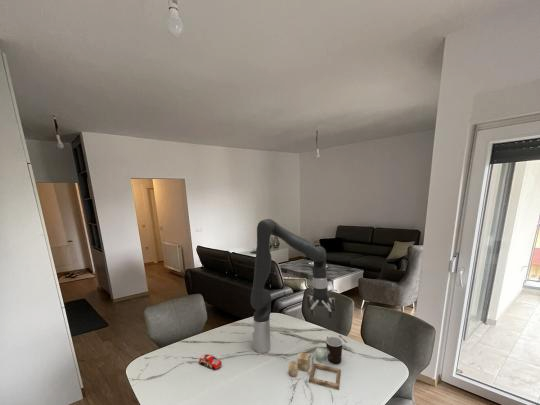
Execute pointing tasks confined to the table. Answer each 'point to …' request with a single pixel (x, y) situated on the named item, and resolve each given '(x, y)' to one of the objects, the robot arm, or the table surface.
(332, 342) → the coffee mug
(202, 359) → the race car
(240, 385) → the table surface
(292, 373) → the cork cylinder
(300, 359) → the oak block
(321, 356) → the pale green rounded cylinder
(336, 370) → the walnut tray
